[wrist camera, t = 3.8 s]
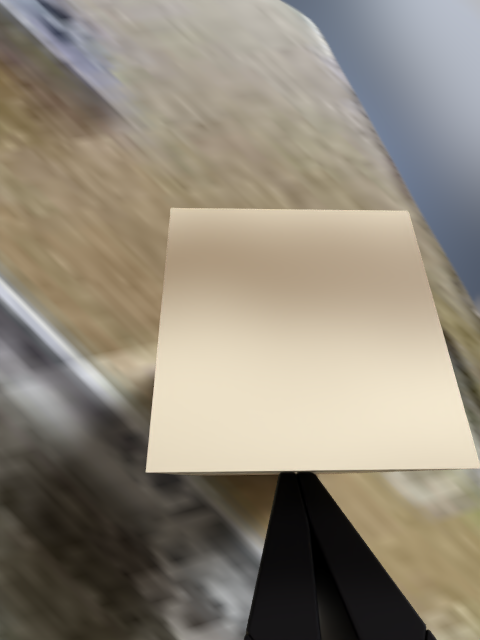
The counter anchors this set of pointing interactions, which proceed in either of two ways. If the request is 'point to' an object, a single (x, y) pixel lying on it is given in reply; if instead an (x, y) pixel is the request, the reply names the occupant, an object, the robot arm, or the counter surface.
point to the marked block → (301, 348)
